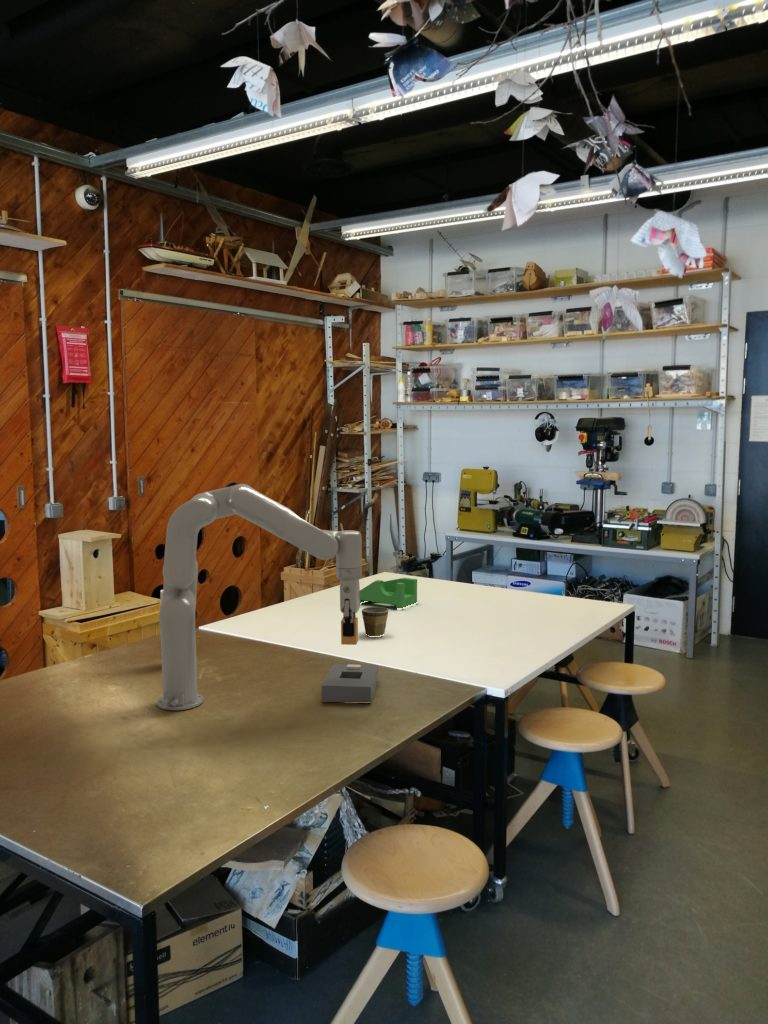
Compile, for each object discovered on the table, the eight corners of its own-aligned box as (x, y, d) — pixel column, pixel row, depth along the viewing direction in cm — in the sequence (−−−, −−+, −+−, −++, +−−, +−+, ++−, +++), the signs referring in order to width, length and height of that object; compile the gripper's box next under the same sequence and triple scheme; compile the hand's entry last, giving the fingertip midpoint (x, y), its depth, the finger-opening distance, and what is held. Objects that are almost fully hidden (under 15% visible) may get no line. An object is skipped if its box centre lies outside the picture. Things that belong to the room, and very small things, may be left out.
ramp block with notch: (417, 605, 340) (417, 579, 339) (401, 611, 329) (401, 584, 328) (372, 599, 353) (371, 573, 352) (355, 605, 342) (355, 578, 340)
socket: (370, 704, 216) (370, 684, 216) (322, 702, 218) (321, 682, 217) (377, 681, 236) (377, 662, 236) (333, 679, 238) (332, 661, 237)
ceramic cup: (392, 637, 286) (392, 611, 285) (367, 640, 283) (367, 613, 281) (379, 629, 298) (379, 604, 297) (355, 631, 295) (355, 606, 293)
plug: (356, 644, 223) (355, 614, 222) (341, 644, 224) (341, 614, 223) (358, 640, 228) (357, 610, 227) (343, 640, 228) (343, 610, 227)
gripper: (358, 578, 215) (358, 642, 217) (364, 567, 232) (365, 626, 234) (331, 578, 216) (332, 641, 217) (340, 567, 232) (340, 626, 234)
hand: (349, 633), depth 225 cm, fingers closed on plug, 4 cm apart
